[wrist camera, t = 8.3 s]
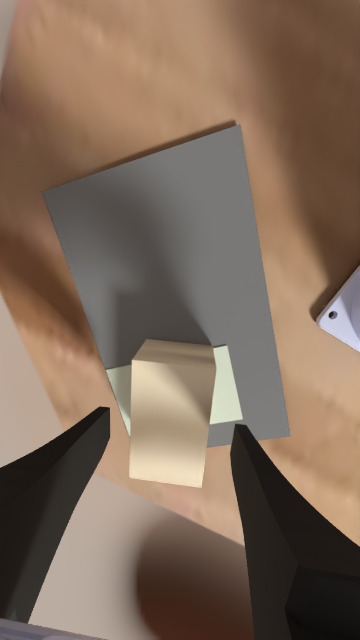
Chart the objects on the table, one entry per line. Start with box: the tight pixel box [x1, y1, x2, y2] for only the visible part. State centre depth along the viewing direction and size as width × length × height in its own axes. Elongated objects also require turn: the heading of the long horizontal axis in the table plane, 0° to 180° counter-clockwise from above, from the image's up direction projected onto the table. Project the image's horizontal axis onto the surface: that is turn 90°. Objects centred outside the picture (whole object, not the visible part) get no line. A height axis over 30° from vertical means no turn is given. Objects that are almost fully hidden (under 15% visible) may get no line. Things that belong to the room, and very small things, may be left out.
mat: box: [42, 124, 290, 448], centre depth 15 cm, size 20×12×1 cm, turn 14°
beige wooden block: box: [129, 339, 217, 488], centre depth 14 cm, size 8×4×3 cm, turn 176°
